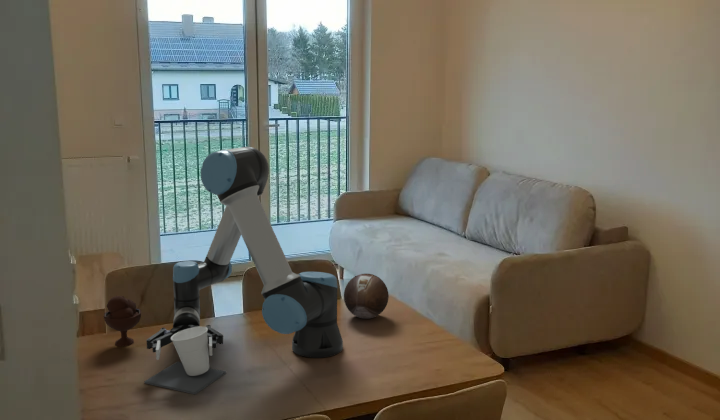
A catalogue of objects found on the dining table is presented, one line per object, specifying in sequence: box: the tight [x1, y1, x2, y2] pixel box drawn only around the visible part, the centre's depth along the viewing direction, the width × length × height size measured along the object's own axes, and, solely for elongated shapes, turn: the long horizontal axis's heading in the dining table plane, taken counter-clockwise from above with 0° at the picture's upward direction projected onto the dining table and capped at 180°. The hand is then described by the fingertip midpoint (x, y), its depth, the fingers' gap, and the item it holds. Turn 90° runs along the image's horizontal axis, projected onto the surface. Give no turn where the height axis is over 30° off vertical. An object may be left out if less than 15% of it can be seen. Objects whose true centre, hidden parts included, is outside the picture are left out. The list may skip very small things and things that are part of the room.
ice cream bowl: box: [103, 295, 142, 347], centre depth 208 cm, size 11×11×15 cm
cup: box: [171, 326, 210, 376], centre depth 186 cm, size 10×10×11 cm
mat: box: [144, 361, 227, 395], centre depth 186 cm, size 16×14×1 cm
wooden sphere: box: [343, 273, 390, 320], centre depth 233 cm, size 15×15×15 cm
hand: (184, 352), depth 181 cm, fingers open, 13 cm apart
